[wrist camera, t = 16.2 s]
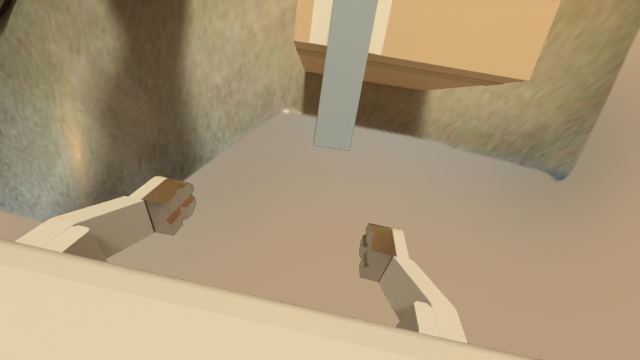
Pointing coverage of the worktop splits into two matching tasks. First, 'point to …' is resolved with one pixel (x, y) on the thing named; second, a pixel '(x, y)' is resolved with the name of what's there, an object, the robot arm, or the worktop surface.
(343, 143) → the batten
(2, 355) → the robot arm
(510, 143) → the worktop surface
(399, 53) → the carton
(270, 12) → the worktop surface
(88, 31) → the worktop surface
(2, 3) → the salad plate
